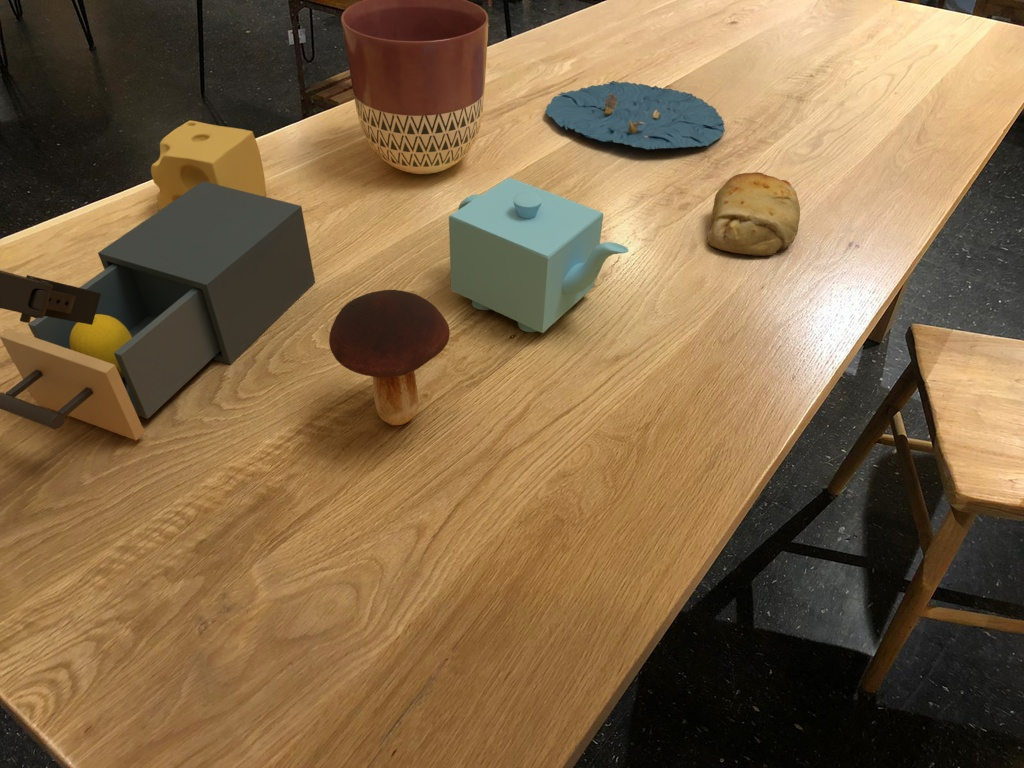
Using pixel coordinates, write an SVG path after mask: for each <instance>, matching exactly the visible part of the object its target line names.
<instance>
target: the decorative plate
mask: <svg viewBox="0 0 1024 768" xmlns="http://www.w3.org/2000/svg"><path fill="white" fill-rule="evenodd" d="M544 111H545V116H548V117H549V118H552V120H554V122H555V123H556V124H557V125H558V126H560V127H561V128H562V127H564V128H565V131H567V130H568V129H570V130H574V132H576V133H579V134H581V135H582V136H584V137H585V138H588V139H590V140H593V139H595V140H596V141H597V142H602V143H608V142H609V143H610V142H613V143H614V144H615V143H617V144H624V145H627V146H628V145H629V146H631V147H633V148H642V149H645V150H647V151H649V150H655V149H656V150H659V149H670V148H671V149H678V148H682V149H685V148H686V149H687V148H691V147H692V148H695V147H699V148H700V147H704V146H705V147H709V145H712V144H713V143H714V142H715V141H717V140H718V139H720V138H722V136H723V135H724V133H725V131H726V130H725V129H726V128H725V121H724V120H723V116H721V115H719V112H717V108H715V107H713V106H712V105H710V104H708V102H705V101H704V99H702V98H699V97H697V96H696V95H694V94H692V93H689V92H686V91H679V90H678V89H676V90H675V89H672V88H662V87H658V86H657V85H654V86H650V85H648V84H643V83H639V84H637V83H635V82H630V81H629V82H628V81H624V82H623V81H622V82H619V81H614V80H612V81H610V82H609V81H607V83H603V84H599V85H598V84H597V85H591V86H588V87H581V88H579V89H577V90H570V91H566V92H563V91H562V92H560V93H558V95H555V96H554V97H552V98H551V101H550V103H548V104H547V106H546V109H545V110H544Z"/></svg>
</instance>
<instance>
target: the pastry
mask: <svg viewBox="0 0 1024 768" xmlns="http://www.w3.org/2000/svg"><path fill="white" fill-rule="evenodd" d="M711 210H712V211H711V215H712V216H711V222H710V231H709V232H707V242H706V243H707V244H708V245H709V246H710V247H713V248H715V249H718V250H720V251H725V252H729V253H734V254H738V255H739V254H740V255H747V256H749V255H750V256H759V257H760V256H764V257H765V256H773V255H775V254H776V253H780V251H782V250H785V249H786V248H788V247H789V246H790V245H792V244H793V243H794V242H795V239H796V237H797V235H798V231H799V224H800V219H801V206H800V200H799V197H798V194H797V191H796V190H795V188H794V187H793V186H792V183H790V181H788V180H785V179H779V178H777V177H776V176H771V175H767V174H765V173H763V172H758V171H756V172H742V173H738V174H735V175H733V176H731V177H730V178H729V179H728V180H727V181H726V182H724V184H723V185H722V186H721V187H720V188H719V189H718V190H717V191H716V193H715V195H714V201H713V206H712V209H711Z"/></svg>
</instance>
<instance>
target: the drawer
mask: <svg viewBox="0 0 1024 768" xmlns="http://www.w3.org/2000/svg"><path fill="white" fill-rule="evenodd" d="M79 288H83V289H87V290H91V291H95V292H98V293H101V296H100V300H99V303H98V307H97V310H96V314H102V315H108V316H111V317H113V318H115V319H117V320H118V321H119V322H121V323H122V324H123V325H124V326H125V327H126V328H127V330H128V331H129V333H130V334H131V336H132V338H131V339H130V340H129V341H128V342H126V343H125V344H124V345H123V346H122V347H120V348H119V349H118V350H117V351H115V352H114V355H115V357H116V359H117V362H118V364H119V366H120V369H121V371H122V373H123V375H124V377H123V378H121V377H120V375H119V373H118V371H117V368H116V366H115V365H114V364H111V363H108V362H105V361H103V360H100V359H97V358H94V357H91V356H88V355H85V354H82V353H79V352H76V351H73V350H71V349H70V334H71V331H72V329H73V327H74V326H75V325H76V323H77V322H74V321H68V320H63V319H58V318H52V317H47V316H44V318H34V319H33V320H32V321H31V320H30V323H27V326H28V327H29V329H30V331H31V333H32V335H33V336H31V335H28V334H26V333H23V332H20V331H17V330H14V329H12V328H8V329H6V331H4V332H2V333H1V334H0V341H1V342H2V344H3V346H4V348H5V349H6V351H7V353H8V355H9V356H10V358H11V361H12V362H13V364H14V365H15V368H16V369H17V371H18V373H19V375H20V376H21V378H22V379H21V380H20V381H19V382H18V383H17V384H15V385H13V386H12V387H11V388H10V389H8V390H7V391H6V392H5V393H4V392H0V410H1V411H4V412H6V413H10V414H12V415H14V416H18V417H20V418H22V419H26V420H28V421H31V422H34V423H36V424H39V425H41V426H43V427H47V428H50V429H52V430H60V429H61V428H62V427H63V426H64V424H65V422H66V417H71V418H74V419H77V420H80V421H82V422H85V423H87V424H90V425H93V426H96V427H98V428H101V429H104V430H107V431H109V432H112V433H115V434H117V435H120V436H122V437H126V438H127V439H128V438H129V439H130V440H134V441H138V440H139V439H140V438H141V436H143V435H144V434H145V429H144V427H143V425H142V423H141V420H140V418H139V417H142V418H144V419H147V420H149V419H150V417H152V416H153V415H154V414H155V413H156V412H158V410H159V409H160V408H161V407H162V406H163V405H164V404H165V403H166V402H168V401H169V400H170V399H171V398H172V397H173V396H174V395H175V394H176V393H178V391H179V390H180V389H182V388H183V386H185V385H186V384H187V383H188V382H189V381H190V380H191V379H192V378H193V377H194V376H195V375H197V374H198V373H199V372H200V370H202V369H203V368H204V367H205V366H206V365H207V364H208V363H209V362H210V361H211V360H213V359H212V358H213V357H214V356H215V355H216V354H217V353H219V352H220V351H221V349H220V346H219V343H218V340H217V336H216V333H215V330H214V327H213V323H212V320H211V317H210V314H209V310H208V307H207V304H206V301H205V297H204V294H203V291H202V289H200V288H196V287H193V286H189V285H186V284H183V283H179V282H176V281H173V280H169V279H166V278H162V277H159V276H156V275H152V274H149V273H146V272H142V271H139V270H135V269H132V268H129V267H125V266H122V265H119V264H115V263H113V264H112V265H110V266H109V267H108V268H106V269H103V270H102V271H100V272H99V273H98V274H96V275H94V276H93V277H92V278H91V279H89V280H88V281H86V282H85V283H83V284H81V286H79ZM27 389H28V390H29V391H28V392H30V394H31V396H32V398H33V400H34V401H35V403H36V404H34V403H31V402H29V401H26V400H23V399H22V398H21V399H20V398H18V396H19V395H20V394H21V393H23V392H24V391H25V390H27Z"/></svg>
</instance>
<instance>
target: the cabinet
mask: <svg viewBox="0 0 1024 768" xmlns="http://www.w3.org/2000/svg"><path fill="white" fill-rule="evenodd" d="M97 254H98V258H99V259H100V262H101V264H102V265H101V266H102V267H103V270H105V269H106V268H108V267H109V266H110V265H112V264H113V263H115V264H119V265H122V266H125V267H129V268H132V269H135V270H139V271H142V272H146V273H149V274H152V275H156V276H159V277H162V278H166V279H169V280H173V281H176V282H179V283H183V284H186V285H189V286H193V287H196V288H200V289H202V291H203V294H204V297H205V301H206V304H207V307H208V310H209V314H210V317H211V320H212V323H213V327H214V330H215V333H216V336H217V340H218V343H219V346H220V349H221V351H220V352H219V353H217V354H216V355H215V356H214V357H213V358H212V359H211V360H214V361H217V362H221V363H224V364H226V365H229V366H231V365H232V364H233V363H234V362H235V361H236V360H237V359H238V358H239V357H241V356H242V355H243V353H244V352H245V351H247V349H249V348H250V347H251V346H252V345H253V344H254V343H255V342H256V341H257V340H258V339H259V338H260V337H261V336H262V335H263V334H264V333H266V331H267V330H268V329H269V328H270V327H271V326H272V325H273V324H274V323H275V322H277V320H279V318H281V317H282V316H283V314H285V313H286V312H287V311H288V309H290V308H291V307H293V305H294V304H295V303H296V302H297V301H298V300H299V299H300V298H301V297H302V296H304V294H305V293H306V292H307V291H308V290H309V289H311V287H312V286H313V285H314V284H316V279H315V274H314V268H313V263H312V258H311V252H310V246H309V241H308V236H307V231H306V224H305V219H304V213H303V207H302V205H300V204H295V203H292V202H288V201H283V200H279V199H275V198H272V197H267V196H265V197H264V196H260V195H256V194H252V193H248V192H244V191H240V190H236V189H232V188H228V187H224V186H220V185H216V184H212V183H208V182H204V181H202V182H201V183H199V184H198V185H196V186H195V187H193V188H192V189H190V190H189V191H188V192H186V193H185V194H183V195H182V196H180V197H179V198H177V199H176V200H174V201H173V202H171V203H170V204H169V205H167V206H166V207H164V208H163V209H161V210H160V209H159V210H158V211H157V212H155V213H154V214H153V215H151V216H150V217H148V218H147V219H145V220H144V221H142V222H141V223H139V224H138V225H136V226H135V227H134V228H132V229H130V230H129V231H128V232H126V233H124V234H123V235H121V236H120V237H119V238H117V239H116V240H114V241H113V242H111V243H110V244H108V245H107V246H105V247H104V248H103V249H101V250H99V251H98V252H97Z"/></svg>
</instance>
